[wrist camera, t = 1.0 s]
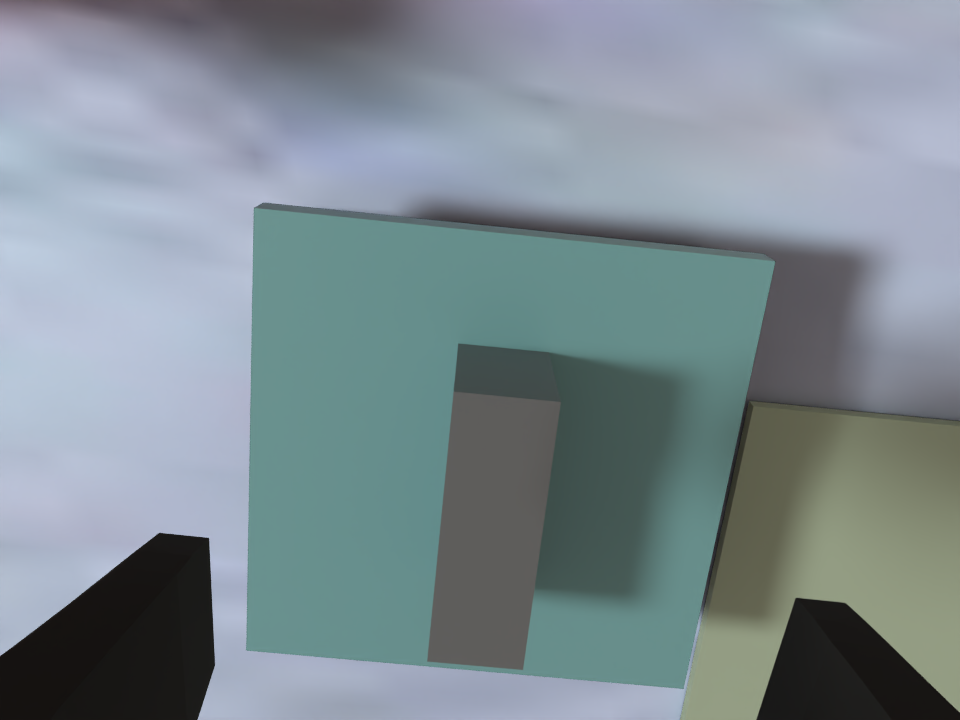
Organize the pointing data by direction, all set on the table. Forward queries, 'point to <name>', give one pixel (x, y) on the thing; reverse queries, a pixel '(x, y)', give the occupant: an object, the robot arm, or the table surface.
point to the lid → (490, 442)
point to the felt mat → (832, 546)
